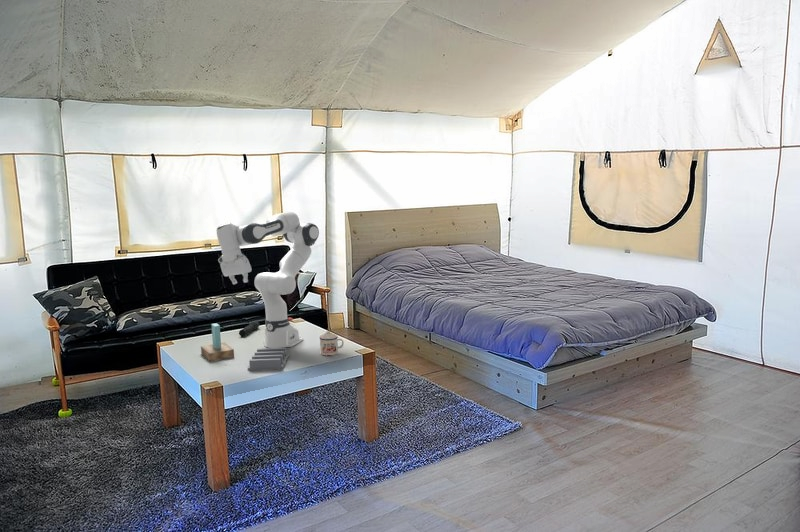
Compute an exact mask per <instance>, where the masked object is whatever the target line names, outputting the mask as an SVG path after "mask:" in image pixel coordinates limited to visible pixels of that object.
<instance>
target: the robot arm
mask: <svg viewBox="0 0 800 532" xmlns="http://www.w3.org/2000/svg"><path fill="white" fill-rule="evenodd" d="M319 231H320V230H319V228H318V226H317V225H316V224H315V223H311V222H307V223H306V222H300V218H299V215H298V214H297V213H295V212H293V211H285V212H279V213H277V214H274V215H272V216H270V217H269V218H268V217H267V219H266V221H265V223H261V224H260V223H257V222H252V223H248V224H246V225H242V226H240V225H235V224H233V223H231V222H227V223H223V224H220V225H219V226H217V228H216V237H217V241H218V244H219V246H220V248H221V255H220V257H219V258H218V259H217V261H218V263H219V265H220V269H221V272H222V275H223V276H224V277H228V278H229V279H230V281H231V283H232V285H236V284H238V281H237V279H236V278H235V276H236V275H242V277H243V278H242V281H243V283H244V284H245V283H249V279H248V278H249V277H248V276H249V274H248V273H251V272H252V265H251V264H250V261H249V259H248V258H247V256H246V255H245V254H243V253H242V251H241V247H245V246H249V245H255V244H259V243H261V242H262V241H263V240H264V239H265V237H268V236H273V237H275V236H282V235H283V238H284V239H285V241H287V242H289V243H292V244H293V246H292V248H291V249H290V250H288V252H287V253H286V254H285V255H284V256H283V257H282V258H281V260H280V261H279V271H276V272H270V271H269V272H268V271H266V272H260V273H257V275H256V276H255V277H254V283H253V284H254V287H255V289H256V290H257V291H258V292H259V293H260V295H261V297H262V300H263V302H264V303H263V304H264V309H265V310H264V311H265V322H264V323H265V332H264V341H263V344H264V348H292V347H294V346H296V345H298V344H299V343H301V342H302V341H304V338H303V337H301V336H299V335H300V334H299V330H298V329H297V328H296V327H294V326H293V325H291V324H290V322H292V321H293V317H288V307H287V306H288V305H287V303H286V301H285V300H284V299H283V298H282V297H281V295H282V296H283V295H289V294H292V293H293V292H294V291H295V289H296V287H297V282H296V280H295V279H296V276H297V274H298V273H299V272H300V271H301V269H302V268H303V267H304V265H306V263H307V261H308V260H309V258H310V257H311V255H312V248H311V247H312V246H313V245H315V242H317V240H318V238H319V234H320V232H319Z"/></svg>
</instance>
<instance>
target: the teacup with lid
mask: <svg viewBox="0 0 800 532" xmlns="http://www.w3.org/2000/svg"><path fill="white" fill-rule="evenodd" d="M338 341H341V342H342V343H341V345H340V346H338V344H339V343H338ZM344 342H345V341H344V339H342V338H339V337H338V335H337V334H335V333H332V332H331V331H330V330H327V331H326V332H325V333H324V334H321V335H320V336H319V346H320V348H319V349H320V356H321V355H322V356H323V355H326V356H325V357H328V356H327V355H333V356H336V355H338V353H339V349H342V348H343V346H344ZM335 354H336V355H335Z"/></svg>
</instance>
